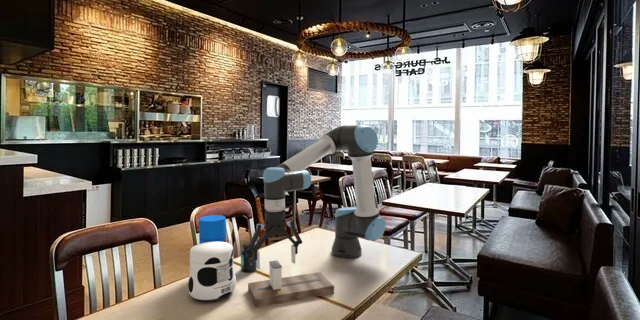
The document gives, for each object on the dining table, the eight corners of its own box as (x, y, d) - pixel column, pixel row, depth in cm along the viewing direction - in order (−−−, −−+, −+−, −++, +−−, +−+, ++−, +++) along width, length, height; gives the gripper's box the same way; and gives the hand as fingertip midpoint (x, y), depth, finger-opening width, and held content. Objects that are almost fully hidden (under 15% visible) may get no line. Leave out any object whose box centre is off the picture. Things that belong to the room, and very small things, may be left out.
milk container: (198, 283, 143) (197, 240, 141) (241, 284, 142) (240, 240, 141) (180, 305, 125) (178, 255, 124) (228, 306, 125) (227, 256, 123)
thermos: (219, 282, 144) (218, 222, 142) (195, 280, 146) (193, 220, 144) (231, 272, 155) (230, 215, 152) (208, 270, 157) (207, 214, 155)
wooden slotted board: (320, 278, 148) (320, 271, 148) (333, 293, 135) (334, 285, 135) (248, 290, 137) (248, 282, 137) (255, 307, 124) (255, 299, 124)
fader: (277, 281, 137) (277, 260, 136) (281, 288, 131) (281, 266, 130) (269, 283, 136) (269, 261, 135) (273, 290, 130) (273, 267, 129)
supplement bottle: (241, 274, 153) (240, 246, 152) (240, 268, 159) (240, 241, 158) (257, 272, 154) (257, 245, 153) (255, 266, 161) (255, 240, 160)
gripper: (242, 215, 123) (244, 274, 125) (310, 208, 132) (310, 263, 134) (239, 210, 130) (240, 266, 132) (303, 204, 139) (304, 256, 141)
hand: (276, 265), depth 133 cm, fingers open, 13 cm apart
